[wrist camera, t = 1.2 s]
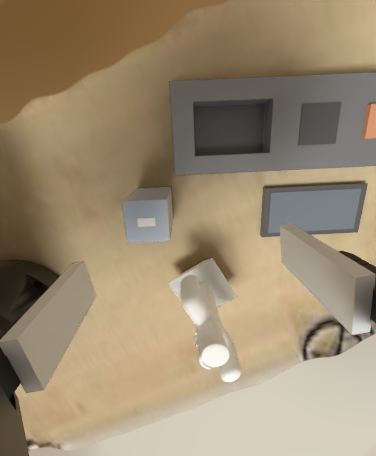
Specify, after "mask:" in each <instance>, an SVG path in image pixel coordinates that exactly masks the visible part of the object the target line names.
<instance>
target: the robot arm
mask: <svg viewBox="0 0 376 456" xmlns="http://www.w3.org/2000/svg"><path fill="white" fill-rule="evenodd" d="M280 239H281V260H282V263H283V265H284V266H285V267H286V268H287V269H288V270H289V271H290V272H291V273H292V274H293V275H294V276H295V277H296V278H297V279H298V280H299V281H300V282H301V283H302V284H303V285H304V286H305V287H306V288H307V289H308V290H309V291H310V292H311V293H312V294H313V295H314V296H315V297H316V298H317V300H318V301H319V302H320V303H321V304H322V305H323V306H324V307H325V308H326V309H327V310H328V311H329V312H330V313H331V314H332V315H333V316H334V317H335V318H336V319H337V320H338V321H339V322H340V323H341V324H342V325H343V326H344V327H345V328H346V329H347V330H348V331H349V332H350V333H351V334H352V335H354V334H360V333H365V332H370V327H371V320H373V321H374V322H375V323H376V267H375V266H373V265H371V264H369V263H368V262H366V261H364V260H362V259H361V258H359V257H357V256H355V255H354V254H351V253H348V252H344V251H336V250H335V249H333V248H331V247H330V246H328V245H326V244H325V243H323V242H321V241H320V240H318V239H316V238H315V237H313V236H312V235H310V234H308V233H307V232H305V231H303V230H302V229H300V228H298V227H297V226H295V225H293V224H292V223H290V224H285V225H280ZM95 298H96V294H95V291H94V288H93V285H92V282H91V280H90V277H89V274H88V271H87V268H86V266H85V263H84V261H82V262H76V263H72V264H71V265H70V266H69V267H68V269H67V270H66V271H65V272H64V273H63V274H62V275H61V276H60V277H58V276H57V275H55V274H54V273H53V272H51V271H50V270H48V269H46V268H44V267H42V266H40V265H37V264H34V263H31V262H27V261H19V260H11V261H4V262H0V456H29V453H28V448H27V442H26V437H25V432H24V427H23V422H22V417H21V411H20V406H19V401H18V397H17V396H16V394H15V390H16V389H17V387H18V386H19V384H20V383H21V385H22V386H23V388H24V390H25V392H26V393H29V392H35V391H41V390H44V389H45V387H46V386H47V384H48V382H49V380H50V378H51V377H52V375H53V373H54V371H55V369H56V368H57V366H58V364H59V362H60V360H61V359H62V357H63V355H64V353H65V351H66V350H67V348H68V346H69V344H70V343H71V341H72V339H73V337H74V335H75V334H76V332H77V330H78V328H79V326H80V325H81V323H82V321H83V319H84V317H85V316H86V314H87V312H88V310H89V308H90V307H91V305H92V303H93V301H94V300H95Z"/></svg>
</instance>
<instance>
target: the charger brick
mask: <svg viewBox="0 0 376 456" xmlns="http://www.w3.org/2000/svg"><path fill="white" fill-rule="evenodd" d="M122 208H123V215H124V222H125V230H126V237H127V244H128V243H148V242H168V241H170V238H171V230H172V223H173V209H172V194H171V187H153V188H138V189H137V190H135V191H134V192H133V193H132V194H130V195H129V196H128V197H127V198H125V199H124V200H123V201H122Z"/></svg>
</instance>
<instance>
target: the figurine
mask: <svg viewBox="0 0 376 456" xmlns="http://www.w3.org/2000/svg"><path fill="white" fill-rule="evenodd" d="M168 285H169V286H170V287H171V289H172V290H173V291H174V293H175V294H176V295H177V297H178V298H179V299H180V301H181V304H182V306H183V308H184V310H185V311H186V312H187V314H188V315H189V316H190V318H191V319H192V320H193V322H194V323H195V327H196V332H195V333H196V335H195V336H194V339H195V342H196V344H195V346H198V355H199V362H200V364H201V365H202V366H203V367H204V368H206V369H211V367H219V371H220V376H221V378H222V379H223V380H224V381H225V382H233V381H235V380H237V379H238V378H239V377H240V375H241V367H240V363H239V359H238V356H237V352H236V348H235V345H234V342H233V340H232V338H231V336H230V335H229V333H228V332H227V331H226V329H225V328H224V326H223V325H222V323H221V320H220V317H219V314H218V311H217V307H219V306H221V305H223V304H225V303H226V302H228V301H230V300H232V299H234V298H236V297H237V295H236V294H235V292H234V291H233V289H232V287H231V286H230V284H229V283H228V281H227V280H226V278H225V277H224V275H223V274H222V272H221V270H220V269H219V267H218V266H217V264H216V263H215V261H214V260H213V258H211V259H206V260H204V261H202V262H201V263H199V264H197V265H195V266H194V267H192V268H190V269H188V270H187V271H185V272H183V273H181V274H180V275H179V276H177V277H176V278H174V279H173V280H172V281H170V282H169V283H168Z"/></svg>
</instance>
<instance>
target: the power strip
mask: <svg viewBox="0 0 376 456" xmlns="http://www.w3.org/2000/svg"><path fill="white" fill-rule="evenodd" d="M169 83H170V100H171V116H172V133H173V149H174V166H175V175H194V174H215V173H236V172H257V171H279V170H300V169H321V168H342V167H363V166H376V72H370V73H346V74H323V75H299V76H276V77H252V78H229V79H206V80H182V81H169Z"/></svg>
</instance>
